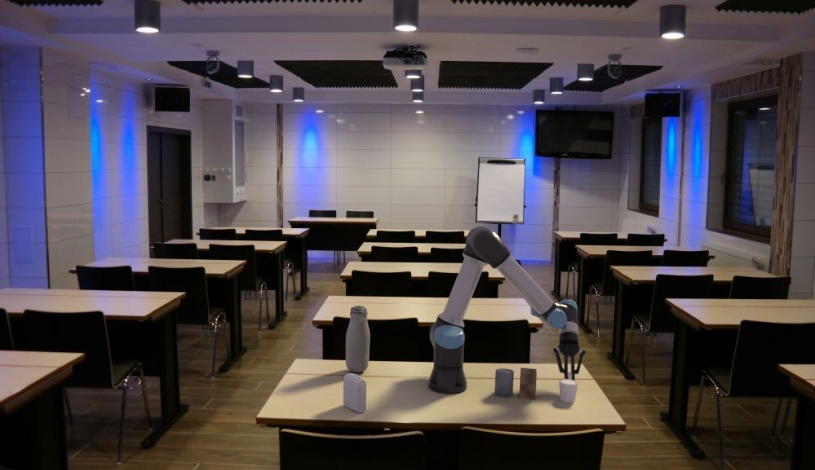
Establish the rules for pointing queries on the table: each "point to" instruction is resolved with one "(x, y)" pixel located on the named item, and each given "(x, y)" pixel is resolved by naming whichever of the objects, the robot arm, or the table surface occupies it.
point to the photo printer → (354, 392)
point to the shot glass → (568, 390)
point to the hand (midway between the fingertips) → (569, 389)
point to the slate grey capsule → (504, 382)
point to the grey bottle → (357, 340)
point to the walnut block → (528, 383)
